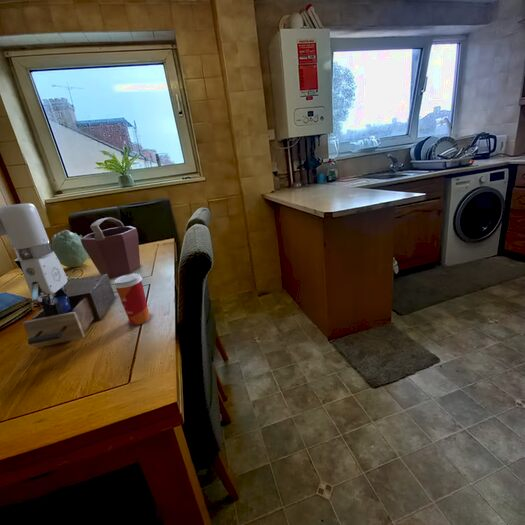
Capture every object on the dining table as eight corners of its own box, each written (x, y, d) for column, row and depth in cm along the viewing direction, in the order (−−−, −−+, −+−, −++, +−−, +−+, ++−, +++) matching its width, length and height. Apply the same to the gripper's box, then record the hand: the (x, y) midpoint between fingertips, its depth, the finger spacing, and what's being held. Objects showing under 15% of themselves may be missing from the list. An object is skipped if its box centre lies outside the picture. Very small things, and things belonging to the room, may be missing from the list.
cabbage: (95, 258, 159) (83, 224, 152) (92, 267, 142) (78, 229, 135) (63, 265, 153) (49, 230, 146) (56, 275, 136) (40, 236, 129)
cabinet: (100, 319, 88) (90, 292, 84) (53, 329, 85) (41, 301, 82) (115, 297, 103) (107, 273, 100) (76, 304, 101) (66, 280, 98)
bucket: (122, 280, 118) (104, 223, 110) (80, 281, 124) (59, 227, 115) (154, 260, 141) (141, 211, 132) (117, 262, 146) (102, 214, 137)
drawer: (76, 348, 72) (65, 323, 70) (23, 359, 70) (10, 333, 68) (102, 311, 91) (94, 289, 89) (61, 319, 89) (52, 297, 87)
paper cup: (127, 317, 87) (114, 276, 82) (153, 310, 89) (141, 270, 84) (125, 330, 80) (110, 286, 75) (153, 322, 82) (140, 279, 77)
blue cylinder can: (44, 319, 76) (38, 307, 75) (54, 310, 81) (49, 298, 80) (66, 315, 77) (61, 302, 76) (75, 306, 82) (70, 294, 81)
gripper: (32, 259, 66) (60, 324, 72) (65, 241, 81) (85, 296, 88) (-4, 264, 64) (28, 331, 71) (37, 245, 80) (59, 301, 86)
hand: (59, 311), depth 79 cm, fingers closed on blue cylinder can, 5 cm apart
